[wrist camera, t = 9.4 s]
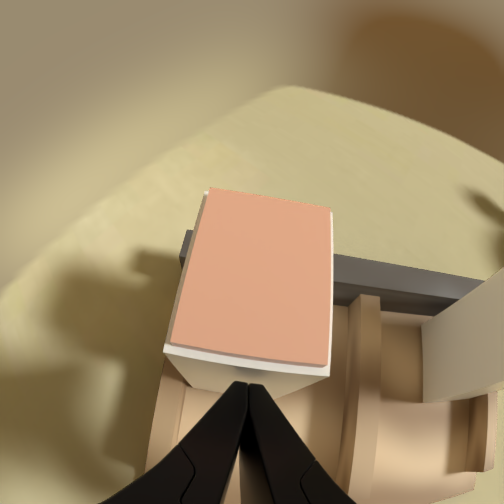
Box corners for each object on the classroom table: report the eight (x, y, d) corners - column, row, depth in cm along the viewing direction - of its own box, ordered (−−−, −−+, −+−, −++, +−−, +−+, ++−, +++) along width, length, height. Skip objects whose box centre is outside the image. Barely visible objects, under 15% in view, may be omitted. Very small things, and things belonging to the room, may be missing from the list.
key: (272, 399, 14) (335, 373, 7) (192, 387, 14) (159, 348, 6) (282, 309, 17) (336, 204, 9) (210, 297, 17) (205, 181, 9)
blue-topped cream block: (468, 398, 14) (578, 359, 7) (422, 402, 14) (543, 365, 7) (464, 328, 17) (559, 264, 9) (421, 324, 17) (521, 251, 9)
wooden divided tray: (468, 489, 12) (503, 491, 9) (144, 497, 11) (127, 515, 8) (467, 302, 19) (496, 282, 16) (191, 261, 19) (187, 227, 16)
